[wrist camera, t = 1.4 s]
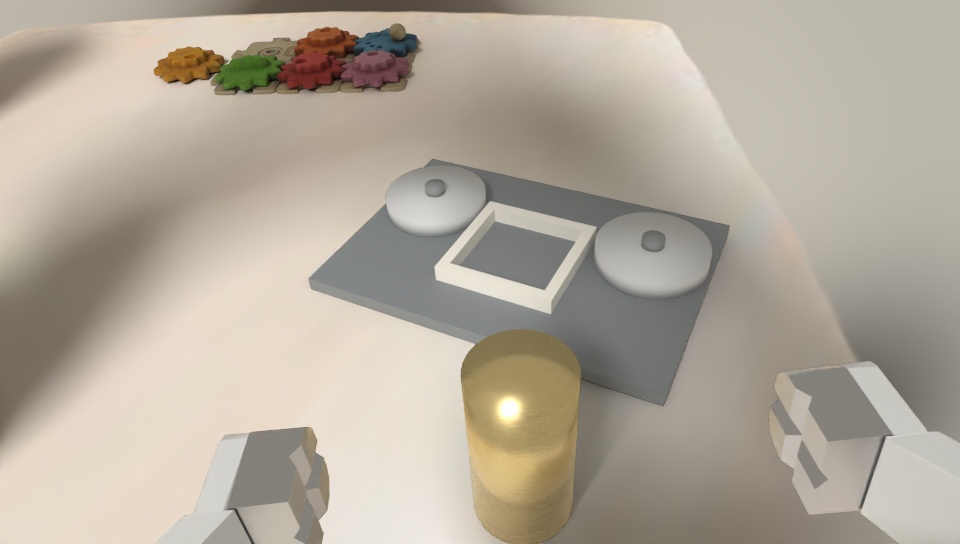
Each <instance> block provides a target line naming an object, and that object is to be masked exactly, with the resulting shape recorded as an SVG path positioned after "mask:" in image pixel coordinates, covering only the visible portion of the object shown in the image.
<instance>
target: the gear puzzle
mask: <svg viewBox="0 0 960 544" xmlns="http://www.w3.org/2000/svg"><path fill="white" fill-rule="evenodd" d="M418 44H419V41H418V39H417V36H416V35H413V34H406V31H405V28H404V27H403V26H402V25H401V24H393V25H392V26H391V27H390V28H388V29H385V30H383V31H380V32H379V33H378V32H374V33H367V34H366V37H363V38H359V37H358V36H356V35H349V32H348V31H343V30H339V29H338V28H337V27H334V28H329V27H325V28H323V29H315V30H314V31H312V32H309V33H308V36H307V38H303V39H300V40H298V41H290V38H274V39H273V41H272V42H254V43H252V44H251V45H250V46H249V47H248V48H247V50H245V51H240V50H237V51H236V52H235V53H234V54H233V55H232V60H231V61H230V63H229V64H227V65H224V66H221V65H220V64H222V63H224V62H225V61H224V58H223V56H221V55H215V54H214V51H212V50H207V51H205V50H202V49H201V48H200V47H196V48H192V47H186V48H183V49H176V51H174V52H170V53H168V57H167V58H165V59H161V60H159V61H158V67H156V68H155V69H154V74H155V75H156V76H163V80H164V81H165V82H169V81H173V80H177V79H179V80H180V81H181V82H182V83H187V82H189V81H191V80H192V79H194V78H201V79H207V78H208V77H209V73H212V72H218V71H221V72H220V73H218V74H217V75H215V77H214V78H213V79H212V81H211V86H215V85H218V86H217V87H216V88H215V89H214V91H215V94H216V95H235V94H236V91H237V90H243V91H245V90H251V89H254V90H253V94H271V93H275V92H277V93H280V94H295V93H299V91H298V90H299V89H303V88H307V89H311V88H317V89H316V93H334V92H338V91H342V92H363V89H362V88H364V87H381V91H382V92H387V91H402V90H403V89H404V88H405V86H406V83H407V79H406V78H401V79H398V76H403V75H406V74H409V73H410V70H411V67H412V66H411V63H412V62H413V60H414V57H415V55H414V53H413V52H410V53H406V51H408V50H414V49H417V47H418Z"/></svg>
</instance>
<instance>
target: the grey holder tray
mask: <svg viewBox="0 0 960 544" xmlns="http://www.w3.org/2000/svg"><path fill="white" fill-rule="evenodd" d="M385 196H386V204H385V205H384V206H383V207H382V208H381V209H380V210H379V211H378V212H377V213H376V214H375V215H374V216H373V217H372V218H371V219H370V220H369V221H368V222H367V223H365V224H364V225H363V226H362V227H361V228H360V229H359V230H358V231H357V232H356V233H355V234H354V235H353V236H352V237H351V238H350V239H349V240H348V241H347V242H346V243H345V244H344V245H343V246H342V247H341V248H340V249H339V250H337V251H336V252H335V253H334V254H333V255H332V256H331V257H330V258H329V259H328V260H327V261H326V262H325V263H324V264H323V265H322V266H321V267H320V268H319V269H318V270H317V271H316V272H315V273H314V274H313V275H312V276H311V277H309V278H308V279H309V283H310V286H311V289H313V290H316V291H319V292H322V293H325V294H328V295H331V296H334V297H337V298H340V299H343V300H346V301H349V302H352V303H355V304H358V305H361V306H364V307H367V308H370V309H373V310H376V311H379V312H382V313H385V314H388V315H391V316H394V317H397V318H400V319H403V320H406V321H409V322H412V323H415V324H418V325H421V326H424V327H427V328H430V329H433V330H436V331H439V332H442V333H445V334H448V335H451V336H454V337H457V338H460V339H463V340H466V341H469V342H472V343H475V344H477V343H479V342H480V341H481V340H483V339H485V338H486V337H488V336H491V335H493V334H496V333H499V332H502V331H507V330H514V329H526V330H535V331H539V332H543V333H546V334H549V335H551V336H553V337H555V338H557V339H559V340H560V341H562V342H563V343H564V344H566V345H567V346H568V347H569V348H570V349H571V350H572V352H573V353H574V354H575V356H576V358H577V360H578V362H579V365H580V370H581V379H583V380H586V381H589V382H592V383H595V384H598V385H601V386H604V387H607V388H610V389H613V390H616V391H619V392H622V393H625V394H628V395H631V396H634V397H637V398H640V399H643V400H646V401H649V402H652V403H655V404H658V405H661V406H664V403H665V400H666V398H667V395H668V392H669V390H670V387H671V384H672V382H673V379H674V376H675V374H676V371H677V368H678V366H679V363H680V360H681V358H682V355H683V352H684V350H685V347H686V344H687V342H688V339H689V336H690V334H691V331H692V328H693V326H694V323H695V320H696V318H697V315H698V312H699V310H700V307H701V305H702V302H703V299H704V297H705V294H706V291H707V289H708V286H709V283H710V281H711V278H712V275H713V273H714V270H715V267H716V265H717V262H718V259H719V257H720V254H721V251H722V249H723V246H724V243H725V241H726V238H727V235H728V231H729V225H725V224H720V223H716V222H712V221H707V220H703V219H698V218H694V217H689V216H685V215H680V214H676V213H671V212H667V211H662V210H658V209H654V208H649V207H645V206H640V205H636V204H631V203H627V202H622V201H618V200H613V199H609V198H604V197H600V196H596V195H591V194H587V193H582V192H578V191H573V190H569V189H564V188H560V187H555V186H551V185H547V184H542V183H538V182H533V181H529V180H524V179H520V178H515V177H511V176H506V175H502V174H497V173H493V172H489V171H484V170H480V169H475V168H471V167H466V166H462V165H457V164H453V163H448V162H444V161H440V160H435V159H432V160H431V161H430V162H429V163H428V164H427V165H426V166H425V167H423V168H419V169H416V170H413V171H410V172H408V173H405V174H403V175H402V176H400V177H398V178H397V179H396V180H395V181H393V182H392V183H391V185H390V186H389V187H388V189H387V191H386V195H385Z"/></svg>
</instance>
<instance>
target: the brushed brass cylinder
mask: <svg viewBox="0 0 960 544" xmlns="http://www.w3.org/2000/svg"><path fill="white" fill-rule="evenodd" d="M580 382H581V370H580V365H579V362H578V360H577V358H576V356H575V354H574V353H573V352H572V350H571V349H570V348H569V347H568V346H567V345H566V344H564V343H563V342H562V341H560V340H559V339H557V338H555V337H553V336H551V335H549V334H546V333H543V332H539V331H535V330H526V329H514V330H507V331H502V332H499V333H496V334H493V335H491V336H488V337H486V338H485V339H483V340H481V341H480V342H479V343H477V344H476V345H475V346H474V347H473V348H472V349H471V350H470V351H469V352H468V354H467V355H466V357H465V359H464V361H463V364H462V368H461V383H462V393H463V402H464V412H465V421H466V431H467V440H468V450H469V460H470V469H471V479H472V488H473V498H474V507H475V511H476V514H477V517H478V519H479V521H480V522H481V524H482V525H483V526H484V528H485V529H486V530H487V531H488V532H489V533H490V534H492V535H493V536H495V537H496V538H498V539H500V540H502V541H504V542H507V543H511V544H537V543H541V542H544V541H546V540H548V539H550V538H552V537H553V536H555V535H556V534H557V533H559V531H560V530H561V529H562V528H563V527H564V526H565V524H566V523H567V521H568V519H569V517H570V514H571V511H572V504H573V489H574V473H575V458H576V443H577V428H578V412H579V397H580Z"/></svg>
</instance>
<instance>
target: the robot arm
mask: <svg viewBox="0 0 960 544" xmlns="http://www.w3.org/2000/svg"><path fill="white" fill-rule="evenodd" d="M774 389H775V391H776V393H777V395H778V397H779V399H778V400H777V401H776V402H775V403H774V404H773V405H772V406H771V408H770V415H769V427H770V435H771V439H772V442H773V445H774V448H775V450H776V452H777V454H778V456H779V458H780V460H781V461H782V462H784V463H785V464H787V465H788V466H790V467H791V468H793V469H794V473H793V477H792V484H793V486H794V488H795V489H796V491H797V493H798V495H799V497H800V499H801V501H802V503H803V505H804V507H805V509H806V511H807V512H808V514H809V515H814V514H826V513H838V512H851V511H861V514H862V515H863V516H865V517H866V518H867V519H868V520H870V521H871V522H872V523H873V524H875V525H876V526H877V527H879V528H880V529H881V530H882V531H884V532H885V533H886V534H887V535H889V536H890V537H891V538H892V539H894V540H895V541H896V542H897V543H899V544H960V443H959V442H957V441H956V440H954V439H952V438H950V437H948V436H946V435H944V434H942V433H941V432H938V431H936V432H935V431H934V432H928V430H927V429H926V428H925V426H924V425H923V424H922V423H921V421H920V420H919V419H918V417H917V416H916V415H915V414H914V413H913V411H912V410H911V409H910V407H909V406H908V405H907V403H906V402H905V401H904V400H903V398H902V397H901V396H900V394H899V393H898V392H897V391H896V389H895V388H894V387H893V386H892V384H891V383H890V382H889V380H888V379H887V378H886V377H885V375H884V374H883V373H882V371H881V370H880V369H879V368H878V366H877V365H876V364H874V363H872V362H871V361H866V362H857V363H849V364H841V365H832V366H824V367H816V368H808V369H800V370H792V371H784V372H780V373H779V374H778V376H777V377H776V381H775V386H774ZM316 445H317V439H316V437H315V434H314V432H313V430H312V428H310V427H302V428H290V429H279V430H268V431H257V432H251V433H240V434H229V435H225V436H224V437H223V438H222V439H221V440H220V441H219V443H218V446H217V448H216V451H215V454H214V457H213V460H212V463H211V465H210V468H209V471H208V474H207V477H206V479H205V482H204V485H203V488H202V491H201V494H200V496H199V499H198V502H197V505H196V508H195V510H194V513H193V514H190V515H185V516H183V517H182V518H181V519H180V520H179V521H178V522H177V523H176V524H175V525H174V526H173V527H172V528H171V529H170V530H169V531H168V532H167V533H166V534H165V535H164V536H163V537H162V538H160V539H159V540H158V541H157V542H156V543H155V544H322V540H323V534H324V533H323V531H322V528H321V526H320V523H319V520H320V518H321V517H322V516H323V515H324V514H325V513H326V512H327V509H328V502H329V475H328V470H327V466H326V463H325V460H324V458H323V457H322V456H320V455H319V454H317V453H316V452H315V450H316Z"/></svg>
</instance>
